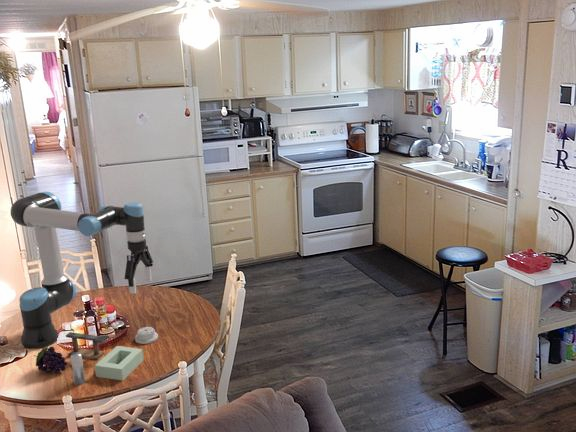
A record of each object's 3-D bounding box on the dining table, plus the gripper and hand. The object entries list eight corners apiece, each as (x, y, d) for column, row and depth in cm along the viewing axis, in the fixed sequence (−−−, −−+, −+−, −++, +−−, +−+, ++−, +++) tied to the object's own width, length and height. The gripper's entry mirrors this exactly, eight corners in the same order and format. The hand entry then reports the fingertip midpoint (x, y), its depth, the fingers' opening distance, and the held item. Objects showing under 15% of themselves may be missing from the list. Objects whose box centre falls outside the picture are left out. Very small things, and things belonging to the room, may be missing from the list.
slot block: (96, 376, 222) (94, 365, 221) (118, 356, 237) (117, 345, 236) (123, 380, 219) (121, 369, 218) (143, 359, 234) (142, 349, 233)
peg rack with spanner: (66, 355, 239) (64, 336, 236) (74, 349, 243) (71, 331, 241) (104, 360, 234) (102, 341, 232) (111, 354, 239) (108, 335, 236)
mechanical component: (131, 343, 248) (152, 345, 246) (130, 334, 247) (151, 336, 245) (141, 333, 258) (161, 334, 256) (140, 324, 256) (161, 326, 254)
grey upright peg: (72, 384, 217) (68, 356, 214) (78, 378, 221) (74, 351, 218) (81, 385, 216) (77, 357, 213) (87, 380, 220) (83, 352, 217)
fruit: (59, 383, 224) (25, 372, 225) (74, 365, 233) (40, 355, 235) (60, 364, 219) (25, 353, 221) (74, 347, 229) (40, 336, 230)
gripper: (129, 250, 222) (134, 299, 228) (158, 231, 246) (162, 276, 251) (112, 248, 224) (117, 297, 230) (142, 230, 247) (146, 275, 253)
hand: (140, 286), depth 241 cm, fingers open, 13 cm apart
